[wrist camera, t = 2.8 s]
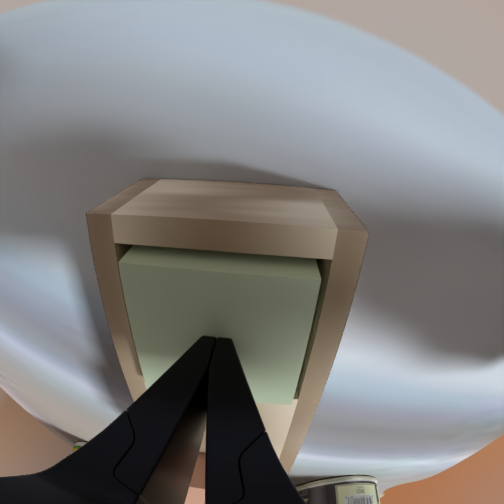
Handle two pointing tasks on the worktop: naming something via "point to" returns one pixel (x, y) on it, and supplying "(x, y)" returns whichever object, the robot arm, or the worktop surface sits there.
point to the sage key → (222, 311)
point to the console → (241, 241)
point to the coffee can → (341, 490)
